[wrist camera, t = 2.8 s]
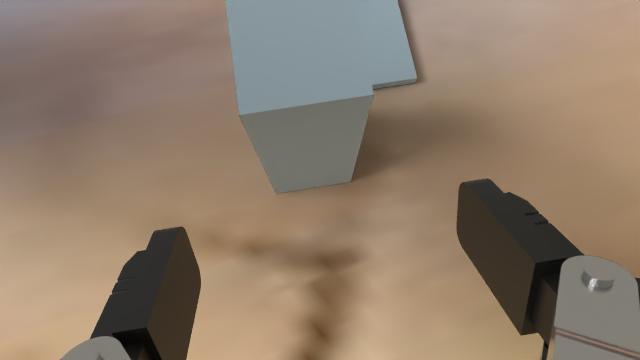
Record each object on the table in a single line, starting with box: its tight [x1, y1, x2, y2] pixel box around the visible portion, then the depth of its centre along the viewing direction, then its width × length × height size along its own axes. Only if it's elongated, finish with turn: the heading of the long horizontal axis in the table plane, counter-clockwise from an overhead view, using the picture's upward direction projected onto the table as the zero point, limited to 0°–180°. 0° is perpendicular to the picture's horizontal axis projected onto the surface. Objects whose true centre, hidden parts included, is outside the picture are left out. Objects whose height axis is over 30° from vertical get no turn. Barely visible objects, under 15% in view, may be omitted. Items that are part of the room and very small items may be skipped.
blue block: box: [225, 0, 374, 194], centre depth 19 cm, size 4×4×11 cm
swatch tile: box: [353, 0, 417, 89], centre depth 26 cm, size 7×7×1 cm
